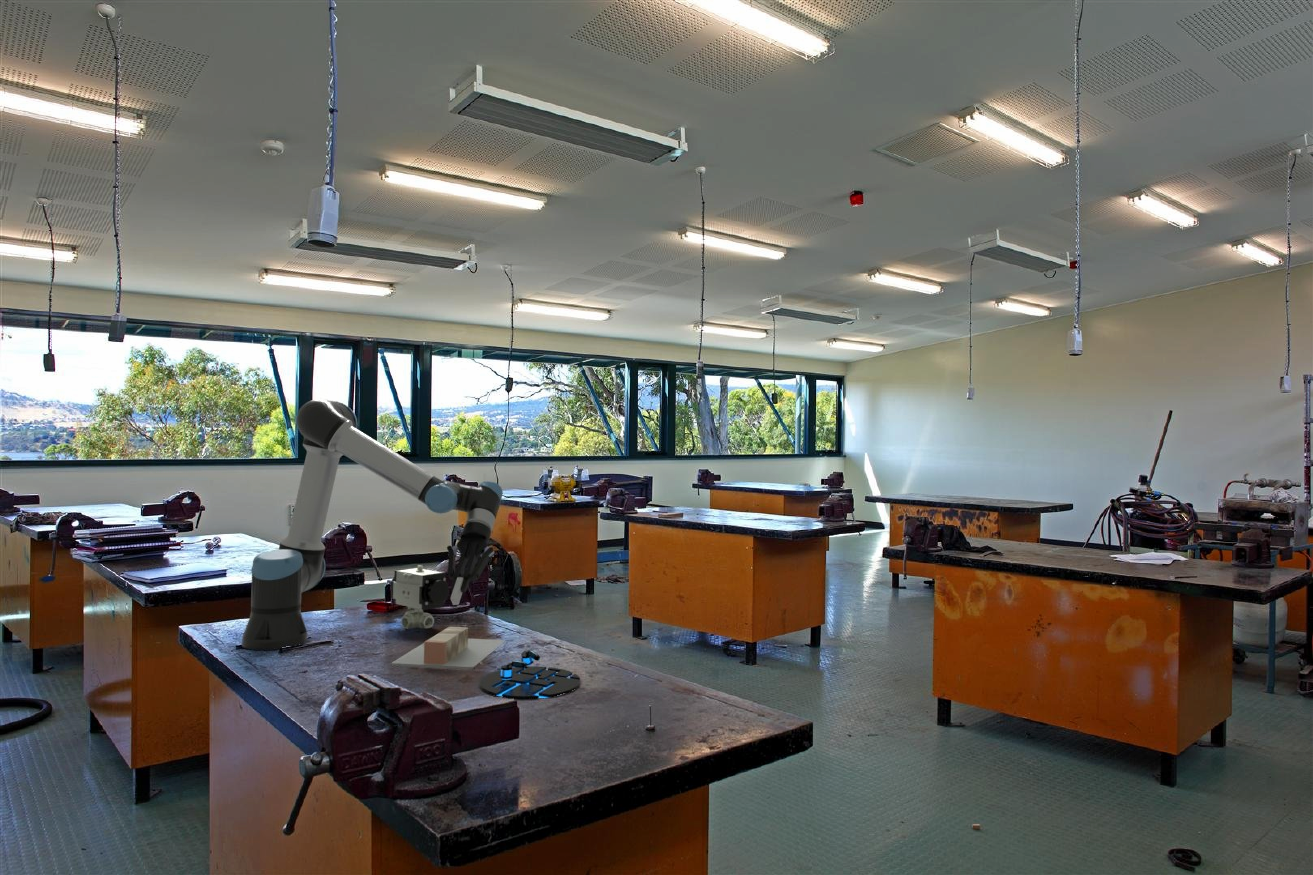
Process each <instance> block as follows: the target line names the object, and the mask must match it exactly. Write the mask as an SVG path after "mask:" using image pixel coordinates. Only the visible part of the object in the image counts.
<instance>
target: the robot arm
mask: <svg viewBox="0 0 1313 875" xmlns="http://www.w3.org/2000/svg"><path fill="white" fill-rule="evenodd" d="M295 421H296V427H297V430H298V431H299V433H300V434H301V435H302V437H303V442H302V446H303V448H304V449H305V450H306V455H305V460H304V464H303V467H302V468H303V469H302V473H301V478H300V481H299V485H298V490H297V495H296V499H295V503H294V506H293V507H294V508H293V511H292V512H293V513H292V517H291V521H290V526H289V530H288V534H287V536H286V537H285V538H283V539H281V540H280V543H279V547H278V549H273V550H270V551H267V550H266V551H264V552H262V553H261V552H260V553H258V554H256V556H255V557H253V560H252V567H251V570H250V571H251V573H250V574H251V589H250V590H251V591H250V592H251V595H250V614H249V619H248V621H247V624H246V626H245V628H244V632H243V634H242V638H241V647H242V648H243V649H245V650H246V649H247V650H253V651H272V650H274V651H275V650H281V649H280V648H282V647H286V646H294V647H296V646H295V645H298V646H300V645H299V644H301V645H303V644H305V643H307V642H308V630H307V627H306V625H305V621H304V617H303V615H302V610H301V609H302V594H303V593H304V592H306V591H309V590H311V589H313V588H314V587H316V586H317V585H318V584H319V583H320V582H321V580H322V579H323V577H324V576H325V572H326V561H325V558H324V555H325V551H326V546H325V545H324V543H323V542H322V538H323V535H324V530H325V529H324V528H325V524H326V521H327V517H328V512H329V508H330V507H329V506H330V503H331V498H332V494H333V489H334V486H335V481H336V477H337V476H336V475H337V472H338V467H339V462H340V458H342V456H344V457H347V458H349V459H350V460H352V461H354V462H355V463H357V464H358V465H360V466H362V467H364V469H366V470H368V471H370V472H371V473H373V474H375V475H376V476H378V477H380V478H382V479H383V480H384V481H386V482H388V483H390V484H391V485H393V486H395V487H396V488H398V489H400V490H402V491H403V492H405V493H406V494H408V495H410V496H411V497H412V498H414V499H417V500H418V501H419V502H421V503H423V504H424V505H426V508H428V510H430V511H431V512H432V513H436V514H440V515H441V514H447V513H450V512H451V511H453V510H454V511H457V512H465V513H468V515H467V518H466V520H465V523H464V526H463V530H462V533H461V535H460V539H459V540H458V542H456V544H455V545H453V546H451V545H447V546H446V550H447V552H448V563H447V575H448V578H449V580H450V581H451V582H452V583H451V585H450V589H451V596H450V601H451V603H452V605H454V606H455V605H456V606H457V605H458V606H459V604H460V601H461V598H462V596H463V593H466V592H467V590H468V587H469V584H470V582H477V581H478V579H479V578H480V577H481V575H482V573H483V571H484V570H485V568H486V567H487V565H488V563H489V562H490V560H491V559H492V558H493V557H494V556H495V555H496V553H495V550H494V548H493V547H491V546H490V547H489V542H490V538H491V536H492V532H493V528H494V526H495V523H496V518H497V515H498V513H499V512H498V511H499V508H500V507H501V504H502V498H503V495H504V492H503V489H502V486H500V485H499V483H497V482H495V481H492V480H486V481H481V482H480V483H479V484H478V485H477V486H473V485H467V484H463V483H459V482H453V481H449V480H443V479H440V478H439V477H436V476H435V475H433V474H431V473H430V472H428V471H427V470H425V469H423V468H421V467H420V466H418V465H417V464H415V463H413V462H412V461H410V460H408V459H407V458H406V457H404V456H402V455H400V454H399V453H398V452H396V451H395V450H392V449H390V447H387V446H386V445H384V444H382V443H381V442H379V441H378V440H376V439H374V438H372V437H371V436H369V435H368V434H366V433H364V432H362V431H361V430H360V429H358V425H359V424H358V418H357V416H356V413H355V412H354V411H353V410H352V409H351V407H349V406H348V405H346V404H345V403H343V402H339V401H338V400H337V401H334V400H329V399H323V398H315V399H312V400H309V401H307V402H306V403H304V404H303V405H302V406H301V407H300V408H299V410H298V412H297V414H296V420H295ZM458 553H459V558H458V562H457V564H456V556H457V554H458ZM479 557H480V558H479ZM304 642H305V643H304ZM302 643H303V644H302Z"/></svg>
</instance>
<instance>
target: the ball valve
mask: <svg viewBox="0 0 1313 875" xmlns="http://www.w3.org/2000/svg"><path fill="white" fill-rule="evenodd" d="M446 580H447V578H446V572H442V571H436V570H431V569H425V568H424V566H423V565H421V564H420V565H419V564H418V565H417V567H411V568H404V569H402V568H401V569H396V570H394V576H393V578H391V581H390V598H391V599H393V604H395V605H399V606H402V607H403V606H405V607H407V610H409V611H406V612H405V613H404V615H402V617H401V621H400V623H401V624H400V625H401V627H402V628H403V629H406V630H408V629H409V630H410V629H416V628H418V629H425V630H426V629H430V628H432V627H433V625H434V623H435V619H434V617H433V615H432V614H431V613H428V612H426V610H432V609H437V608H442V607H445V606H446V602H445V601H446V600H447V599H448V597H449V595H450V586H449V584H448V582H447V581H446ZM411 609H412V610H411Z"/></svg>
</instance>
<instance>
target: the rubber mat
mask: <svg viewBox="0 0 1313 875" xmlns="http://www.w3.org/2000/svg"><path fill="white" fill-rule="evenodd" d="M505 642H506V640H505V639H487V638H485V639H484V638H468V647H467V648H466V649H464V650H463V651H462V652H460V653H459V654H457V655H456V656H455V657H453V658H452V659H451V660H449V661H448V662H447V663H445V664H432V663H424V642H423V643H421V644H420V645H418V646H416V647H415V648H413V649H411V650H409V651H408V652H407V653H405V654H404V655H402V656H400V657H398V658H397V659H395V660H394V661H392V662H391V663H390V666H392V667H407V668H408V667H410V668H428V669H429V668H430V669H450V670H451V669H452V670H468V671H469V670H472V671H473V670H474V671H475V669H476V666H477V665H478V664H479V663H481V662H482V661H483V660H485V659H486V658H487V657H488V656H489V655H490V654H491V653H493V652H494V651H495V650H496V649H497V648H499V647H501V645H502V644H503V643H505Z"/></svg>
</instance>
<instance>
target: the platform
mask: <svg viewBox="0 0 1313 875" xmlns="http://www.w3.org/2000/svg"><path fill="white" fill-rule="evenodd" d="M520 654H521V658H520V660H521V661H519V660H512V661H511V662H507V664H506V665H505V664H504V665H502V666H500V669H499V670H495V671H492V672H490V673H487V674H486V675H484V676H483V677H481V679H480V680H479V684H478V685H479V689H480V690H481V691H482V692H484V693H486V694H487V695H489V696H493V695H495V696H494V697H496V696H503V697H506V698H505V699H508V698H514V699H513V700H522V701H523V700H524V701H525V700H539V699H538V698H544V699H549V697H551V698H555V697H554V696H556V697H558V696H557V695H560V694H563V693H567V694H570V693H571V691H572V690H574V689H576V688H577V687H578V686H579V685H580V686H581V678H580V676H579V675H578V674H576V673H574V674H573V672H572V671H570V670H568V669H563V668H559V667H550V666H549V667H548V668H547V666H537V665H536V666H531V665H533V664H534V661H539V660H540V659H541V656H540V655H539V654H538V653H537V652H535V651H534V650H531V649H527V650H524V651H522V652H521V653H520ZM546 669H548V670H546ZM556 672H558V673H556ZM571 675H572V676H571ZM568 676H570V678H567V677H568ZM551 685H552V686H551ZM580 686H579V687H580ZM579 687H578V688H579ZM578 688H577V689H578ZM543 689H545V690H543ZM577 689H576V690H577ZM541 690H542V691H541ZM574 691H575V690H574ZM569 692H570V693H569ZM572 692H573V691H572ZM536 693H539V694H536Z"/></svg>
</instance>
